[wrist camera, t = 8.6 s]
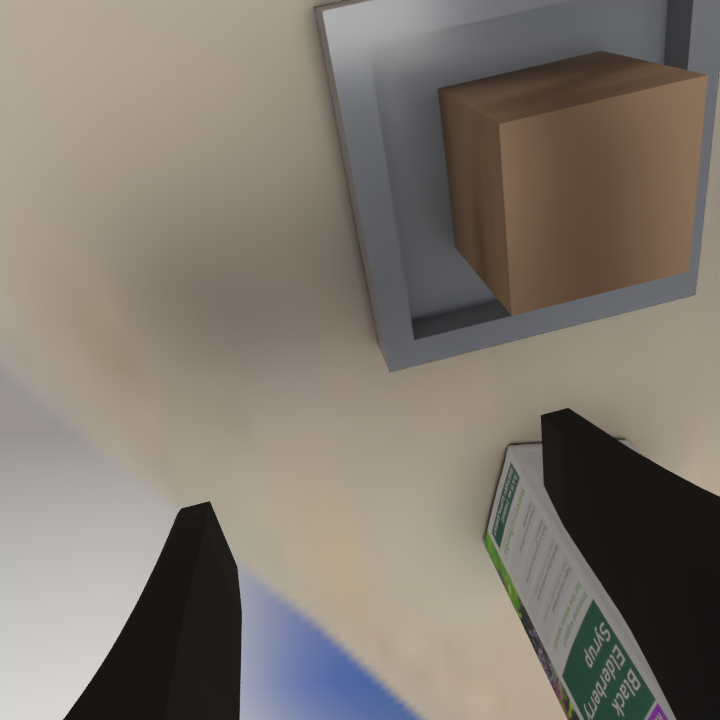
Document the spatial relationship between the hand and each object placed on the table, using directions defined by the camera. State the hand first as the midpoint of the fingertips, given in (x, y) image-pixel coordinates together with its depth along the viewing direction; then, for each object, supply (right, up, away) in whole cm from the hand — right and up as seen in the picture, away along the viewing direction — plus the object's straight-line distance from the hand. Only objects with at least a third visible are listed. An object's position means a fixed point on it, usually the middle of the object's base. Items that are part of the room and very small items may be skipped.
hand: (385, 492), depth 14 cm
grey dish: (+4, +9, +7) cm, 12 cm away
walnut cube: (+5, +9, +6) cm, 12 cm away
